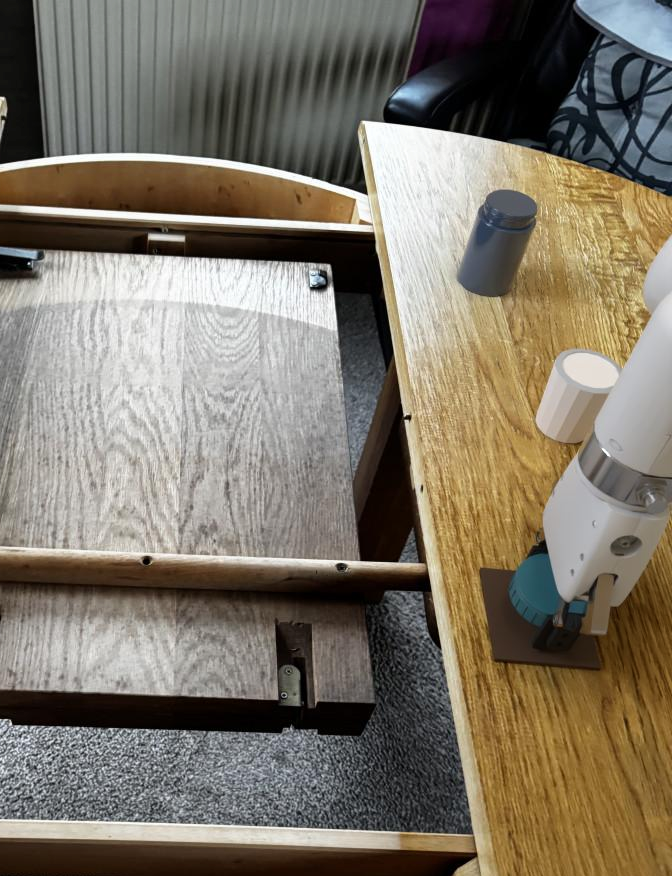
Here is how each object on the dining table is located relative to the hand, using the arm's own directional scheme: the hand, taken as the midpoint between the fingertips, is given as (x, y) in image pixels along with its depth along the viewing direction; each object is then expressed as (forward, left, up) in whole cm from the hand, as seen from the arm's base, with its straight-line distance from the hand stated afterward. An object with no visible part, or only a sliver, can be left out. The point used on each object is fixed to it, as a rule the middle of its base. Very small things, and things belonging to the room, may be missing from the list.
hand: (542, 610), depth 80 cm
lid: (0, 0, +3) cm, 3 cm away
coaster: (0, 0, -1) cm, 1 cm away
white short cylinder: (-7, -26, -1) cm, 27 cm away
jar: (-2, -51, -1) cm, 51 cm away
